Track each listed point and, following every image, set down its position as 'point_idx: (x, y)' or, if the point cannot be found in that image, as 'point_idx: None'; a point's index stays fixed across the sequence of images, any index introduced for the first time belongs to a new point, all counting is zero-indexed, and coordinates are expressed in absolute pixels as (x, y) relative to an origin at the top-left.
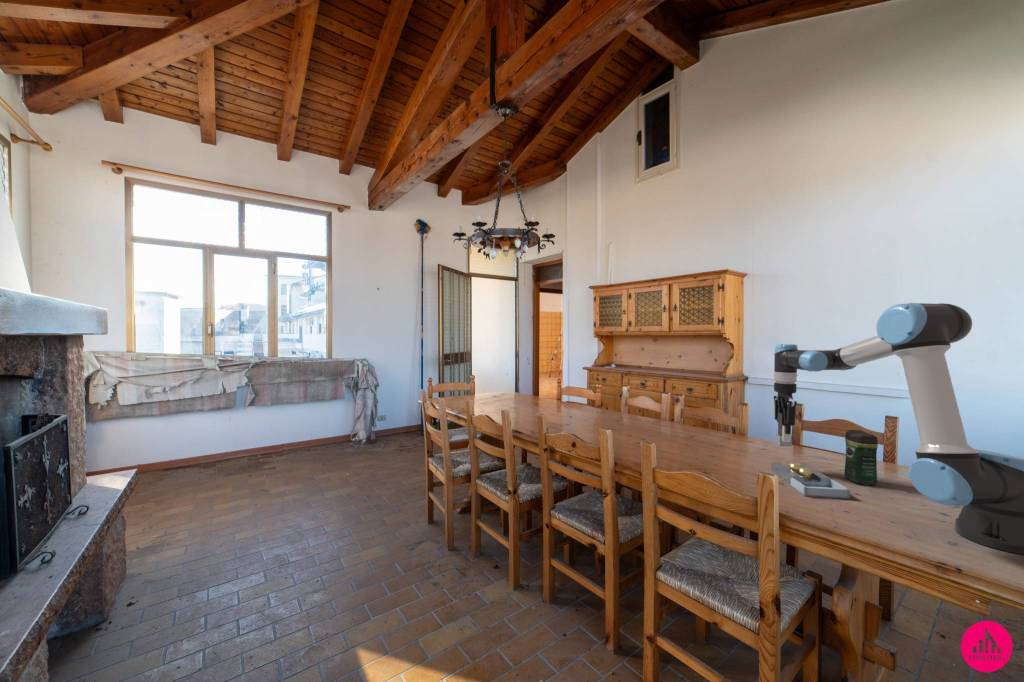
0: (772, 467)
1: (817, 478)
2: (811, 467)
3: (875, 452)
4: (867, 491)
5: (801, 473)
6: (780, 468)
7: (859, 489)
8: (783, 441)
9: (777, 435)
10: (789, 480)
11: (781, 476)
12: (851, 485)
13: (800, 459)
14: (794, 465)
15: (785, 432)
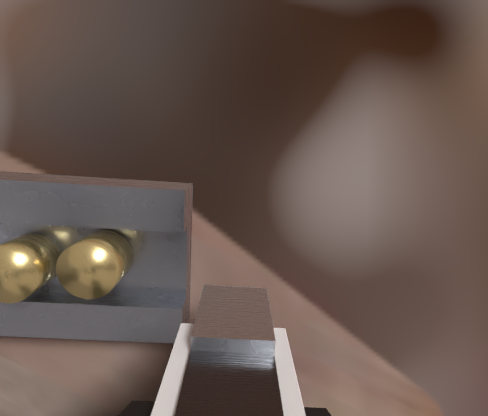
0: (181, 185)
1: None
2: (121, 339)
3: None
4: (7, 409)
5: (3, 243)
6: (85, 184)
7: (21, 397)
8: (181, 327)
9: (244, 335)
10: (7, 174)
11: (91, 178)
12: (60, 395)
13: (365, 388)
14: (62, 253)
15: (148, 413)
